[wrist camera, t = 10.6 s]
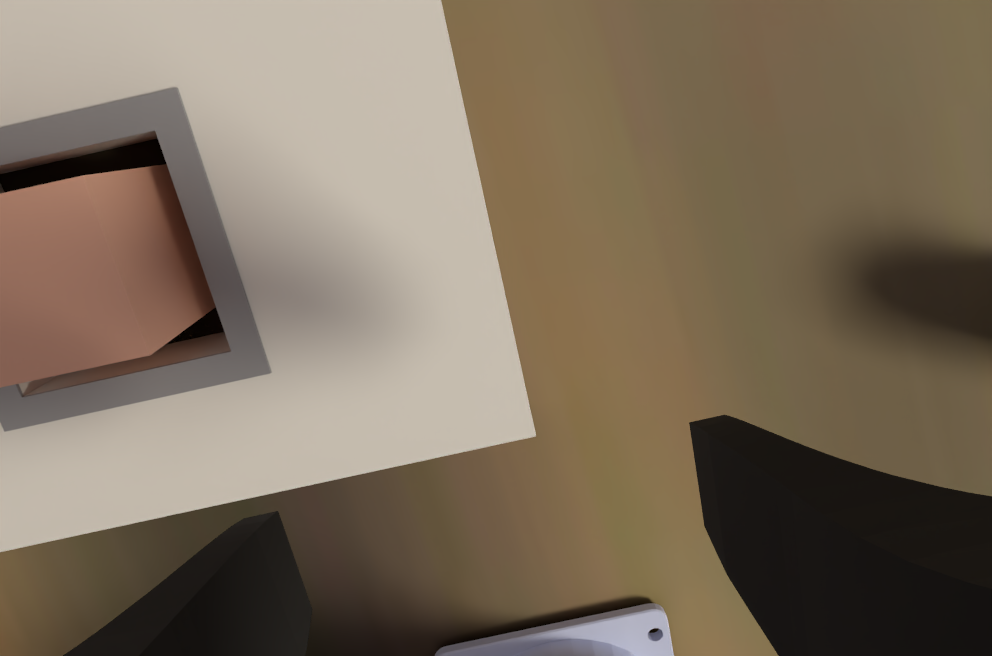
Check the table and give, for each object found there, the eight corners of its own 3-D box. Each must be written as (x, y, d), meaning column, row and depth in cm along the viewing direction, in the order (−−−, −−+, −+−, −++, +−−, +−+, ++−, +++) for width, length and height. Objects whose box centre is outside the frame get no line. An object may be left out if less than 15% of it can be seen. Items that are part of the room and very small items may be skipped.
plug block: (224, 300, 20) (150, 355, 15) (91, 329, 20) (-23, 392, 15) (178, 162, 19) (82, 175, 14) (38, 193, 19) (-105, 216, 14)
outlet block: (528, 401, 21) (536, 437, 19) (-95, 536, 22) (-167, 589, 19) (417, -104, 17) (409, -142, 15) (-341, 73, 18) (-472, 64, 15)
